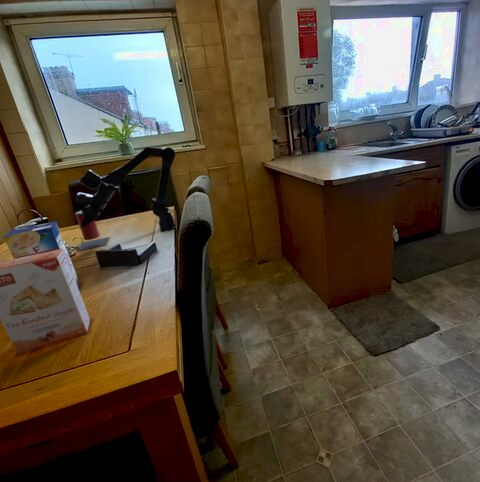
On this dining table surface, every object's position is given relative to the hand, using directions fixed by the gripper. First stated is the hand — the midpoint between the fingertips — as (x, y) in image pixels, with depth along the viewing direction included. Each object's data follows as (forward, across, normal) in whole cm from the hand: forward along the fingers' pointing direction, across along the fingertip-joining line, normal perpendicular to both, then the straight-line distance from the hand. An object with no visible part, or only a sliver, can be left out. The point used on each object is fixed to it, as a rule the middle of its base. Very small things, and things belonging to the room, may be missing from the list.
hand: (84, 224), depth 124 cm
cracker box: (+4, +69, +11) cm, 70 cm away
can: (+4, 0, +6) cm, 7 cm away
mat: (+6, 0, +8) cm, 10 cm away
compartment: (-6, +30, +20) cm, 37 cm away
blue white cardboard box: (+8, +45, +6) cm, 46 cm away
